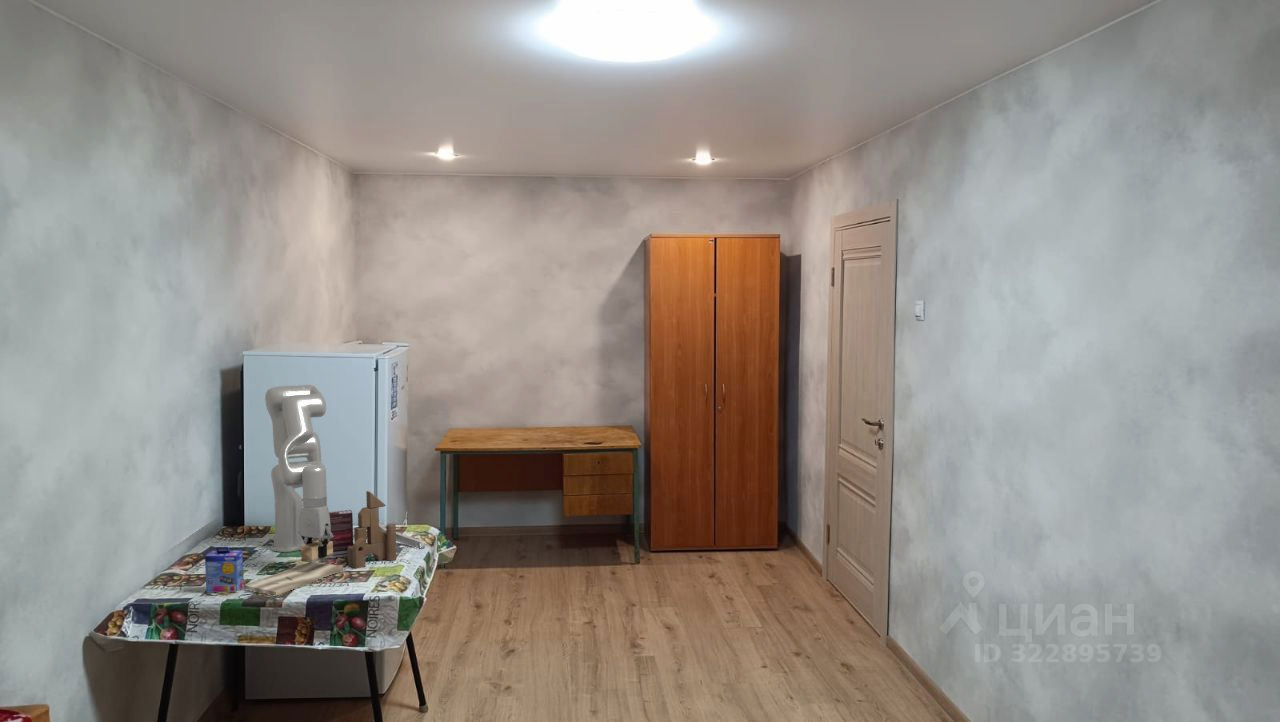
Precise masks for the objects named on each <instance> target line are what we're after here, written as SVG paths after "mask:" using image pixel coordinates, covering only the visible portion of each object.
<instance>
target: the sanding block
mask: <svg viewBox="0 0 1280 722" xmlns="http://www.w3.org/2000/svg"><path fill="white" fill-rule="evenodd" d="M323 540H324V539H322V541H323ZM312 542H313V543H310V544H306V545H303V546H301V550H300V561H301V562H305V563H314V562H320V561H322V560H326V559H329V557H331V556H333V541H329V543H328V545H327V556H326V557H323V558H319V556H318V546H320V545H319V540H317V541H312Z"/></svg>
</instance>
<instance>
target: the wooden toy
mask: <svg viewBox="0 0 1280 722" xmlns="http://www.w3.org/2000/svg"><path fill="white" fill-rule="evenodd" d="M365 492H366V493H365V494H366V506H365V507H364V506H363V507H362V508H361V509H360V511H359V512H358V513H357V526H356V527H353V546H349V547H347V548H348V556H347V565H348V566H349V565H350V567H353V568H354V569H362V568H365V567H366V556H367V555H373V556H374V559H375V560H377V561H379V560H381V561H384V560H383V559H386V561H387V560H388V562H394V561H393V560H395V561H396V560H397V541H396V532H397V529H396V528H397V527H396V523H387V524H386V525H385V526H386V527H385V528H386V532H382V531H381V530H380V528H379V523H380V521H379V520H380V513H379V512H380V508H383V507H386V504H385V503H384V502H383V501H381V499H379V498H378V497H377V496H376V495H375V494H373V493H372V492H371V491H368V490H367V491H365ZM364 566H365V567H364ZM361 567H362V568H361Z"/></svg>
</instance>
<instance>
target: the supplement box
mask: <svg viewBox="0 0 1280 722" xmlns="http://www.w3.org/2000/svg"><path fill="white" fill-rule="evenodd" d="M329 515H330V526H331V532H332V534H333V536H334V537H333V538H332V539H331V540H330V541H333V556H331V557H328V559H335V558H336V557H337V558H344V557H348V548H347V547H349V546H353V544H354V523H353V522H354V520H353V519H354V518H353V511H352V509H347V510H335V511H329Z"/></svg>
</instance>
